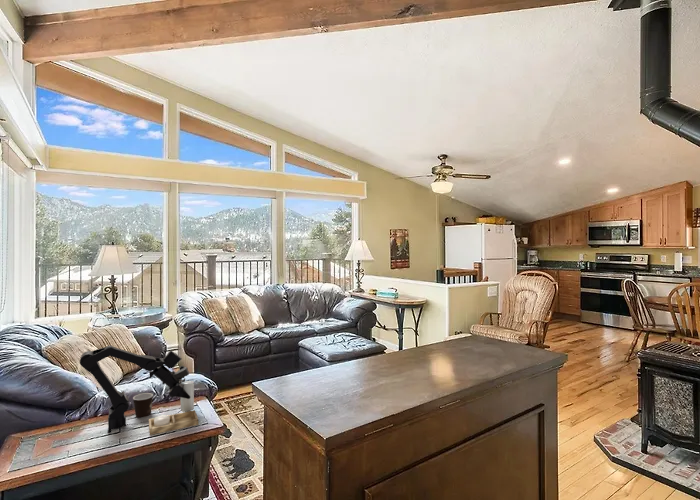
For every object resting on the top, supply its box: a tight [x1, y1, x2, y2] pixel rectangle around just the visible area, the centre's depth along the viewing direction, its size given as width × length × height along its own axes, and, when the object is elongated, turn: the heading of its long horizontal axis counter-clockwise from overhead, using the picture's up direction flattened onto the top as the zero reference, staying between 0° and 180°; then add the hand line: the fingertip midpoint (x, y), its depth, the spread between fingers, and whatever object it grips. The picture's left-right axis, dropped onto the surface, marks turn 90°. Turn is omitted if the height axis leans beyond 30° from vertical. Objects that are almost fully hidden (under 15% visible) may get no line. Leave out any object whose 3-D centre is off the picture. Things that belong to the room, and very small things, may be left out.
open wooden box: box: [148, 409, 199, 436], centre depth 179 cm, size 20×11×4 cm, turn 119°
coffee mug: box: [132, 392, 154, 419], centre depth 191 cm, size 12×9×10 cm
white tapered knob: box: [180, 380, 195, 413], centre depth 191 cm, size 6×6×13 cm
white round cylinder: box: [154, 414, 170, 427], centre depth 177 cm, size 6×6×4 cm
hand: (190, 395), depth 192 cm, fingers closed on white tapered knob, 6 cm apart
